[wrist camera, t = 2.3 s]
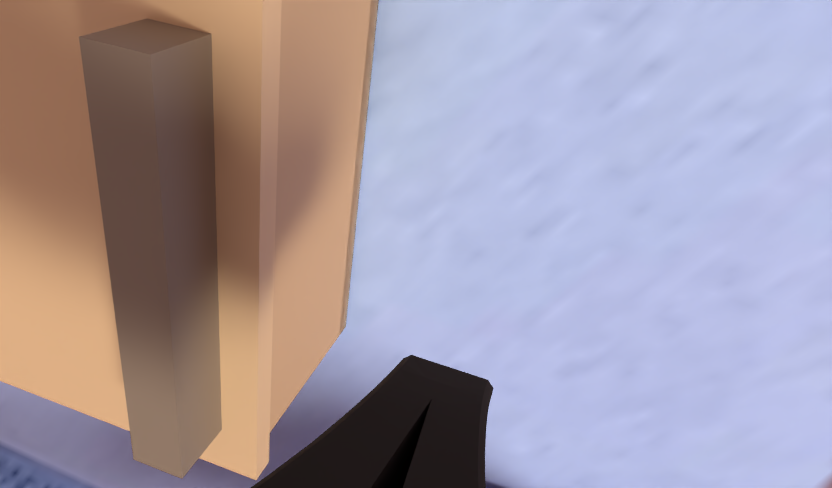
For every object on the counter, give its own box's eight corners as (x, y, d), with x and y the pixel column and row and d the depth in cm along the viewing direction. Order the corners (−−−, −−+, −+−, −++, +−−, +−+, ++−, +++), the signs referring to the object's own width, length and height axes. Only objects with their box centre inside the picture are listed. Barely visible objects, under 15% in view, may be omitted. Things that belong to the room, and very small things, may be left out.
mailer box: (384, -58, 15) (274, -32, 11) (345, 326, 20) (264, 440, 16) (-44, -140, 17) (-271, -147, 13) (27, 223, 23) (-114, 299, 19)
